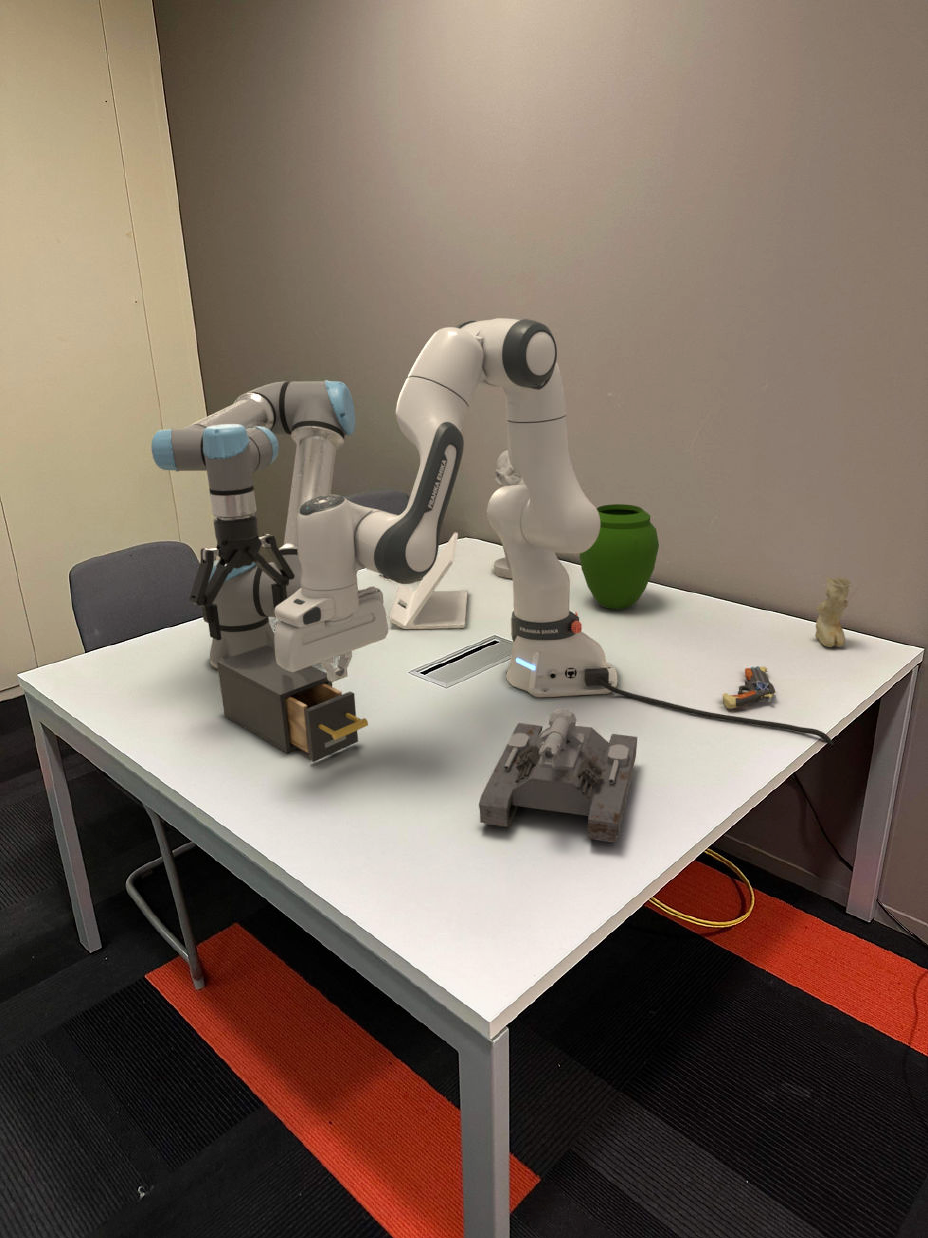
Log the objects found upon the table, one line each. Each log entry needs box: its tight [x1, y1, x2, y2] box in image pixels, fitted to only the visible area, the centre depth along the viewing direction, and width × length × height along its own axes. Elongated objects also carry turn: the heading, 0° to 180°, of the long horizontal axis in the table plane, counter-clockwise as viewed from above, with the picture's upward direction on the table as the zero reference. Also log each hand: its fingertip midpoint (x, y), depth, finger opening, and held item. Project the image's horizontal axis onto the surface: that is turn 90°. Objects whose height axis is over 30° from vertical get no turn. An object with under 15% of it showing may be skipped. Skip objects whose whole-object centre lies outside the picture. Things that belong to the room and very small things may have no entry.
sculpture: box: [814, 576, 852, 648], centre depth 185 cm, size 6×7×15 cm
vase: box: [578, 503, 660, 610], centre depth 210 cm, size 20×20×24 cm
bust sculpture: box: [485, 449, 525, 579], centre depth 231 cm, size 16×24×35 cm
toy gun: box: [722, 665, 778, 710], centre depth 166 cm, size 3×19×10 cm
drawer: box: [285, 683, 369, 763], centre depth 150 cm, size 25×10×10 cm, turn 45°
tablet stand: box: [388, 531, 468, 630], centre depth 211 cm, size 18×25×17 cm
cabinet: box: [217, 645, 333, 754], centre depth 157 cm, size 21×11×11 cm, turn 45°
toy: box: [478, 707, 638, 844], centre depth 131 cm, size 25×20×15 cm
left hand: (249, 627), depth 157 cm, fingers open, 13 cm apart
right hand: (337, 678), depth 140 cm, fingers closed
